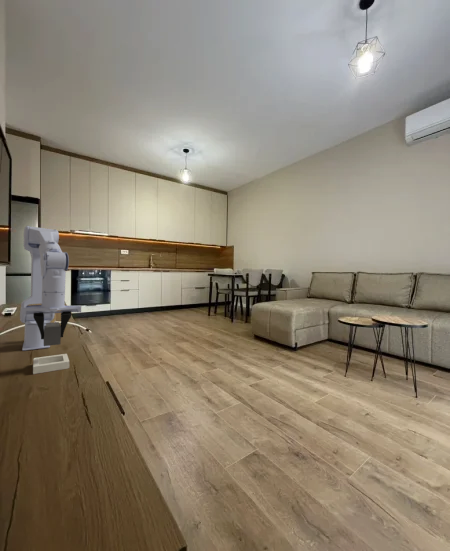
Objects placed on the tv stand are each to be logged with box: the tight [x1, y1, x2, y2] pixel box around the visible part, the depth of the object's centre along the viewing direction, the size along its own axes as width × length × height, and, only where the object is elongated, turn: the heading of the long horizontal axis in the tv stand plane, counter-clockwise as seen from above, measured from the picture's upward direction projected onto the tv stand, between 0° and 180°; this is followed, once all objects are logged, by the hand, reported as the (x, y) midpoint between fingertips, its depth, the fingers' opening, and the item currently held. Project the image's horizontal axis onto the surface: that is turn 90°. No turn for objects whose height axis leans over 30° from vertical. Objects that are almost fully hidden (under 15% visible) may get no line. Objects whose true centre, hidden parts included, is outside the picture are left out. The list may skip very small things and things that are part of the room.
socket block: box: [32, 353, 70, 375], centre depth 75 cm, size 8×8×2 cm
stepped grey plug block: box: [44, 321, 62, 347], centre depth 75 cm, size 4×4×6 cm
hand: (52, 337), depth 75 cm, fingers closed on stepped grey plug block, 4 cm apart
